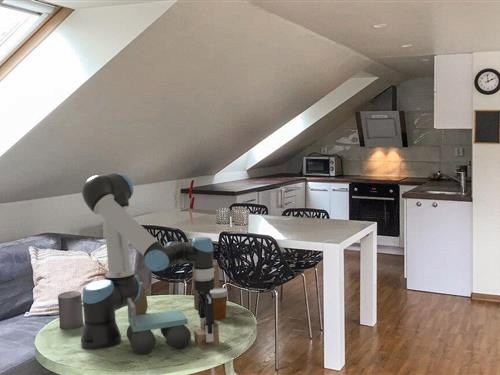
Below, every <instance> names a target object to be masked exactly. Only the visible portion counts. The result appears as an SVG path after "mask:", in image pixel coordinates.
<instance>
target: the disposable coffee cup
mask: <svg viewBox="0 0 500 375" xmlns="http://www.w3.org/2000/svg"><path fill="white" fill-rule="evenodd" d="M210 294H211V296H212V298H213V310H214V320H215V321H220V320H224V319H225V318H226V316H227V315H226V314H227V303H228V302H227V301H228V300H227V299H228V295H229V292H228V290H227V288H224V287H219V288H214V289H213V290H210Z"/></svg>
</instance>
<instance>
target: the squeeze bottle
mask: <svg viewBox="0 0 500 375" xmlns="http://www.w3.org/2000/svg"><path fill="white" fill-rule="evenodd" d="M135 276H136V277H137V278H138V280H139V281H140V283H141V294H140V296H139V298H138V299H137V300H136V301H135V302H133V304H134V305H135V311H136V316H137V315H144V314H147V311H148V308H149V306H148V305H149V304H148V299H147V298H148V297H147V293H146V288H145V287H144V283H143V282H141V280H140V277H139V276H140V275H138V274H135ZM131 310H132V309H131Z"/></svg>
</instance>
